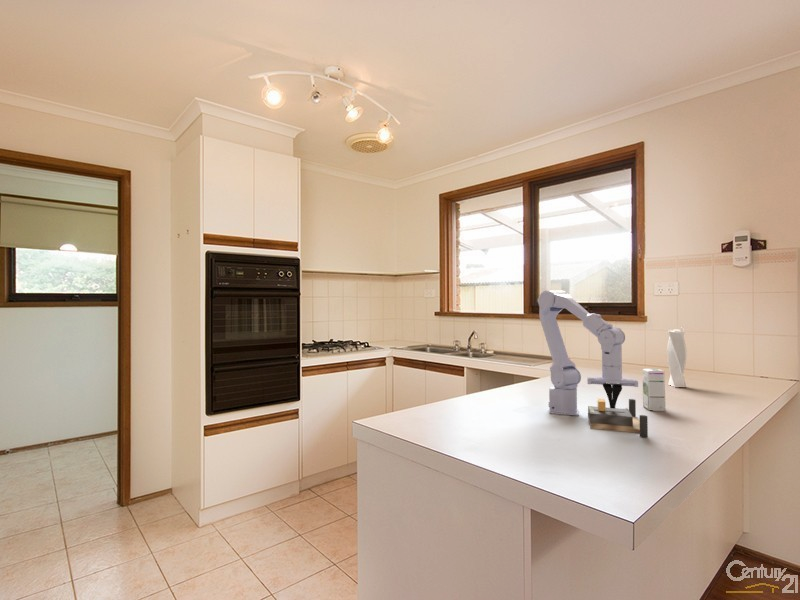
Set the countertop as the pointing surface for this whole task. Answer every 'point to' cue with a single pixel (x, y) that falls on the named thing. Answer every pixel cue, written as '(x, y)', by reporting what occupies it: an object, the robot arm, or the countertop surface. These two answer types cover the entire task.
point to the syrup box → (654, 389)
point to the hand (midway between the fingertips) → (612, 407)
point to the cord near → (643, 426)
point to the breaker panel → (618, 428)
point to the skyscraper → (676, 357)
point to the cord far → (632, 407)
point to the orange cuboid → (601, 405)
